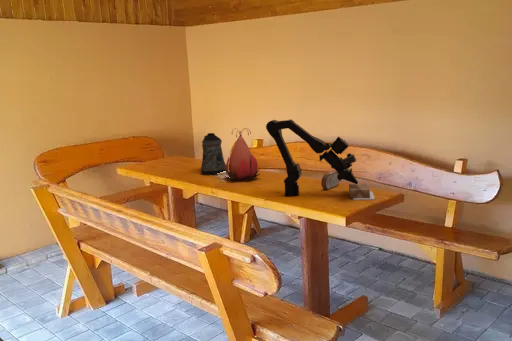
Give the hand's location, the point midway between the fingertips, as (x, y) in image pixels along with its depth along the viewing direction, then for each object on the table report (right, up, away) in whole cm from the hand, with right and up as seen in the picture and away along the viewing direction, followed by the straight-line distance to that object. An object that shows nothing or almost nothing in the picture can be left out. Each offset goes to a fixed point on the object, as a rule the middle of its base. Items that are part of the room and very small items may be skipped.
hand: (357, 183), depth 232 cm
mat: (+3, -6, +1) cm, 7 cm away
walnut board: (-3, -4, +2) cm, 5 cm away
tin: (-9, -3, +21) cm, 23 cm away
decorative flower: (-58, +1, +51) cm, 77 cm away
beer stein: (-77, +5, +73) cm, 106 cm away
